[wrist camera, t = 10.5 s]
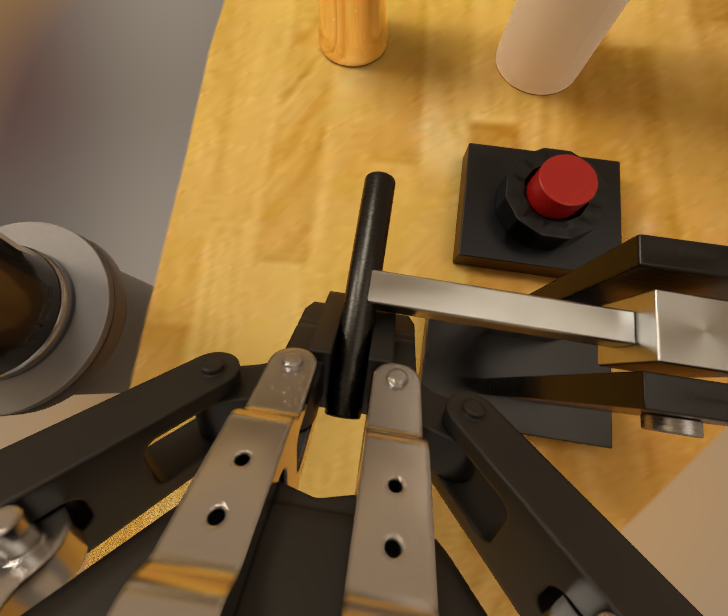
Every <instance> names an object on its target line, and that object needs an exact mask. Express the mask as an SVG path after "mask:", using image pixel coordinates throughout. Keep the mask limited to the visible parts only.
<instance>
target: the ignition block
mask: <svg viewBox="0 0 728 616" xmlns="http://www.w3.org/2000/svg"><path fill="white" fill-rule="evenodd" d="M563 154H567V155H573V156H577V157H579V156H578V155H576V154H574V153H573V152H570V151H565V150H557V149H549V148H543V149H540V150H537V151H529V150H521V149H513V148H505V147H497V146H489V145H481V144H473V143H469V145H468V147H467V150H466V152H465V155H464V157H463V163H462V173H461V183H460V193H459V204H458V214H457V224H456V234H455V244H454V254H453V263H457V264H464V265H471V266H478V267H485V268H492V269H499V270H507V271H514V272H521V273H528V274H535V275H542V276H549V277H556V278H560V277H562V276H564V275H566V274H567V273H569V272H571V271H573V270H575V269H577V268H578V267H580V266H582V265H584V264H586V263H587V262H589V261H591V260H593V259H595V258H597V257H598V256H600V255H602V254H604V253H606V252H608V251H609V250H611V249H613V248H615V247H617V246H619V245H620V244H622V242H621V200H620V162H617V161H609V160H601V159H593V158H585V157H579V158H581V159H583V160H585V161H586V162H587V163H588V164H590V166H591V167H592V168H593V169H594V171H595V173H596V175H597V178H598V188H597V191H596V194H595V195H594V197H593V198H592V199H591V200H590V201H589V202H588V203H586V204H585V205H584V206H583V207H582V208H580V209H579V210H578V211H577V212H575V213H574V214H573V215H571V216H570V217H567V218H564V219H549V218H546V217H544V216H542V215H540V214H538V213H537V212H536V211H535V210H534V209H533V208H532V207H531V205H530V204H529V202H528V199H527V195H526V190H527V185H528V183H529V181H530V180H531V178H532V177H533V176H534V175H535V173H536V172H537V171H538V170H539V168H540V167H541V166H542V165H543V164H544V162H545V161H547V160H548V159H550V158H551V157H554V156H557V155H563Z"/></svg>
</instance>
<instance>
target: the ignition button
mask: <svg viewBox="0 0 728 616" xmlns="http://www.w3.org/2000/svg"><path fill="white" fill-rule="evenodd" d="M597 188H598V178H597V175H596V173H595V171H594V169H593V168H592V167H591V166H590V164H588V163H587V162H586V161H585V160H583V159H581V158H579V157H577V156H573V155H567V154H563V155H557V156H554V157H551V158H550V159H548V160H547V161H545V162H544V164H543V165H542V166H541V167H540V168H539V170H538V171H537V172H536V173H535V175H534V176H533V177H532V178H531V180H530V181H529V183H528V185H527V190H526V195H527V199H528V202H529V204H530V205H531V207H532V208H533V209H534V210H535V211H536V212H537V213H538V214H540V215H542V216H544V217H546V218H549V219H564V218H567V217H570V216H571V215H573V214H574V213H575V212H577V211H578V210H579V209H580V208H582V207H583V206H584V205H585V204H586V203H588V202H589V201H590V200H591V199H592V198H593V197H594V195H595V194H596V191H597Z"/></svg>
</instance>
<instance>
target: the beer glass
mask: <svg viewBox="0 0 728 616" xmlns="http://www.w3.org/2000/svg"><path fill="white" fill-rule="evenodd" d="M318 2H319V26H318V38H319V44H320V47H321V49H322V51H323V53H324V54H325V55H326V56H327V57H328V58H329V59H330V60H332V61H333V62H335V63H338V64H340V65H344V66H362V65H366V64H368V63H371V62H373V61H374V60H376V59H377V58H378V57H380V56H381V55H382V53H383V52H384V50H385V49H386V46H387V43H388V24H387V15H386V0H318Z"/></svg>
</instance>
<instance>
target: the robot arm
mask: <svg viewBox="0 0 728 616" xmlns="http://www.w3.org/2000/svg"><path fill="white" fill-rule="evenodd" d="M344 298H345V293H340V292H333V291H330V293H329V295H328V298H327V300H326V302H325V303H320V302H314V303H312V304H311V305H309V306H308V307H307V308H305V310H304V312H303V314H302V316H301V318H300V320H299V322H298V325H297V326H296V328H295V330H294V333H293V335H292V337H291V339H290V341H289V343H288V345H287V347H286V349H282V350H280V351H278V352H276V353H275V354H274V355H273V356H272V357H271V358H270V360H269V362H268V363H265V364H260V365H249V366H240V364H239V361H238V359H237V358H236V357H235V356H233V355H231V354H229V353H224V352H213V353H208V354H205V355H202V356H200V357H198V358H195V359H193V360H191V361H189V362H187V363H185V364H183V365H180V366H178V367H176V368H174V369H172V370H170V371H168V372H165V373H163V374H161V375H159V376H157V377H155V378H153V379H150V380H148V381H146V382H144V383H142V384H140V385H138V386H135V387H133V388H131V389H129V390H127V391H125V392H123V393H120V394H118V395H116V396H114V397H112V398H110V399H108V400H105V401H104V402H101V403H99V404H97V405H95V406H93V407H91V408H88V409H86V410H84V411H82V412H80V413H78V414H76V415H73V416H71V417H69V418H67V419H65V420H63V421H61V422H59V423H57V424H54V425H52V426H50V427H48V428H46V429H43V430H41V431H39V432H37V433H35V434H33V435H31V436H29V437H26V438H24V439H22V440H20V441H18V442H16V443H14V444H12V445H9V446H7V447H5V448H3V449H1V450H0V616H488V615H487V614H486V612H485V611H484V609H483V608H482V606H481V605H480V603H479V601H478V600H477V598H476V597H475V595H474V594H473V592H472V591H471V589H470V587H469V586H468V584H467V583H466V581H465V580H464V578H463V577H462V575H461V573H460V572H459V570H458V569H457V567H456V566H455V564H454V563H453V561H452V559H451V558H450V557H449V555H448V554H447V552H446V551H445V550H444V548H443V547H442V546H441V545H440V543H439V542H438V541H437V540H436V539H435V538H434V523H433V505H432V487H431V482H432V483H433V485H434V486H435V488H436V489H437V491H438V492H439V494H440V495H441V497H442V498H443V500H444V501H445V503H446V504H447V506H448V508H449V509H450V511H451V512H452V514H453V515H454V517H455V518H456V520H457V521H458V523H459V524H460V526H461V527H462V529H463V530H464V532H465V533H466V535H467V536H468V538H469V539H470V541H471V542H472V544H473V545H474V547H475V548H476V550H477V551H478V553H479V554H480V556H481V557H482V559H483V560H484V562H485V564H486V565H487V567H488V568H489V570H490V571H491V573H492V574H493V576H494V577H495V579H496V580H497V582H498V583H499V585H500V586H501V588H502V589H503V591H504V592H505V594H506V595H507V597H508V598H509V600H510V601H511V603H512V604H513V606H514V607H515V609H516V610H517V612H518V613H519V615H520V616H703V615H702V614H701V613H700V612H699V611H698V610H697V609H696V608H695V607H694V606H693V605H692V604H691V603H690V602H689V601H688V600H687V599H686V598H685V597H684V596H683V595H682V594H681V593H680V592H679V591H678V590H677V589H676V588H675V587H674V586H673V585H672V584H671V583H670V582H669V581H668V580H667V579H666V578H665V577H664V576H663V575H662V574H661V573H660V572H659V571H658V570H657V569H656V568H655V567H654V566H653V565H652V564H651V563H650V562H649V561H648V560H647V559H646V558H645V557H644V556H643V555H642V554H641V553H640V552H639V551H638V550H637V549H636V548H635V547H634V546H633V545H632V544H631V543H630V542H629V541H628V540H627V539H626V538H625V537H624V536H623V535H622V534H621V533H620V532H619V531H618V530H617V529H616V528H615V527H614V526H613V525H612V524H611V523H610V522H609V521H608V520H607V519H606V518H605V517H604V516H603V515H602V514H601V513H600V512H599V511H598V510H597V509H596V508H595V507H594V506H593V505H592V504H591V503H590V502H589V501H588V500H587V499H586V498H585V497H584V496H583V495H582V494H581V493H580V492H579V491H578V490H577V489H576V488H575V487H574V486H573V485H572V484H571V483H570V482H569V481H568V480H567V479H566V478H565V477H564V476H563V475H562V474H561V473H560V472H559V471H558V470H557V469H556V468H555V467H554V466H553V465H552V464H551V463H550V462H549V461H548V460H547V459H546V458H545V457H544V456H543V455H542V454H541V453H540V452H539V451H538V450H537V449H536V448H535V447H534V446H533V445H532V444H531V443H530V442H529V441H528V440H527V439H526V438H525V437H524V436H523V435H522V434H521V433H520V432H519V431H518V430H517V429H516V428H515V427H514V426H513V425H512V424H511V423H510V422H509V421H508V420H507V419H506V418H505V417H504V416H503V415H502V414H501V413H500V412H499V411H498V410H497V409H496V408H495V407H494V406H493V405H492V404H491V403H490V402H489V401H488V400H486V399H485V398H483V397H481V396H479V395H477V394H474V393H470V392H457V393H455V394H453V395H451V396H450V397H449V399H448V398H446V397H443V396H441V395H439V394H436V393H434V392H432V391H431V390H429V389H428V388H426V387H425V386H424V385H423V384H422V383H421V381H420V378H419V376H418V375H417V373H416V357H415V336H414V335H415V329H414V323H413V322H412V320H411V319H410V317H409V316H405V315H399V314H396V313H390V312H383V311H377V310H376V317H375V323H374V326H373V333H372V340H371V346H370V353H369V359H368V366H367V373H366V379H365V386H364V392H363V404H362V411H361V413H362V414H366V421H365V428H364V434H363V441H362V448H361V454H360V461H359V468H358V475H357V482H356V489H355V495H348V496H338V497H328V498H314V497H312V496H309V495H307V494H305V493H303V492H301V491H299V490H298V484H299V479H300V475H301V472H302V468H303V465H304V461H305V457H306V454H307V450H308V446H309V443H310V439H311V435H312V432H313V428H314V420H315V418H316V416H317V412H318V409H319V407H326V401H327V396H328V390H329V385H330V379H331V373H332V367H333V362H334V356H335V350H336V344H337V339H338V333H339V327H340V321H341V315H342V309H343V303H344ZM74 310H75V290H74V285H73V282H72V279H71V277H70V275H69V273H68V272H67V270H66V269H65V268H64V267H63V265H62V264H61V263H59V262H58V261H57V260H56V259H54V258H53V257H51V256H49V255H47V254H45V253H42V252H40V251H37V250H35V249H32V248H29V247H26V246H21V245H18V244H17V243H15V242H14V241H12V240H11V239H10V238H8V237H7V236H5V235H4V234H2V233H1V232H0V380H6V379H10V378H13V377H16V376H19V375H21V374H23V373H25V372H27V371H29V370H31V369H33V368H34V367H36V366H37V365H39V364H40V363H41V362H43V361H44V360H45V359H46V358H47V357H48V356H49V355H50V354H51V353H52V352H53V351H54V350H55V349H56V348H57V347H58V345H59V344H60V343H61V341H62V340H63V338H64V336H65V335H66V333H67V331H68V329H69V326H70V324H71V321H72V318H73V314H74ZM193 416H196V419H194V420H192V421H190V422H189V423H187V424H185V425H184V426H182V427H180V428H179V429H177V430H175V431H174V432H172V433H170V434H169V435H167V436H165V437H164V438H162V439H160V440H159V441H157V442H155V443H154V444H152V445H150V446H148V445H149V444H150V443H151V442H152V441H153V440H154V439H156V438H157V437H159V436H161V435H162V434H164V433H166V432H167V431H169V430H171V429H172V428H174V427H176V426H178V425H179V424H181V423H183V422H184V421H186V420H188V419H189V418H191V417H193ZM193 477H194V478H193ZM191 478H193V480H192V482H191V483H190V485H189V487H188V489H187V491H186V492H185V494H184V496H183V498H182V499H181V501H180V503H179V505H177V506H176V507H174V508H173V509H171V510H170V511H168V512H167V513H165V514H164V515H163V516H161V517H160V518H158V519H157V520H156V521H154V522H153V523H151V524H150V525H148V526H147V527H146V528H144V529H143V530H141V531H140V532H138V533H137V534H136V535H134V536H133V537H131V538H130V539H128V540H127V541H126V542H124V543H123V544H121V545H120V546H118V547H117V548H116V549H114V550H113V551H111V552H110V553H109V554H107V555H106V556H104V557H103V558H101V559H100V560H99V561H97V562H96V563H94V564H93V565H91V566H90V567H89V568H87V569H86V570H84V571H83V572H82V573H80V574H79V575H77V572H78V571H79V569H80V567H81V566H82V564H83V562H84V560H85V557H86V554H87V553H88V552H90V551H91V550H92V549H94V548H95V547H97V546H98V545H99V544H101V543H102V542H104V541H105V540H106V539H108V538H109V537H111V536H112V535H113V534H115V533H116V532H118V531H119V530H120V529H122V528H123V527H124V526H126V525H127V524H129V523H130V522H131V521H133V520H134V519H136V518H137V517H138V516H140V515H141V514H143V513H144V512H145V511H147V510H148V509H150V508H151V507H152V506H154V505H155V504H157V503H158V502H159V501H161V500H162V499H164V498H165V497H166V496H168V495H169V494H170V493H172V492H173V491H175V490H176V489H177V488H179V487H180V486H182V485H183V484H184V483H186V482H187V481H189V480H190V479H191Z"/></svg>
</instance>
